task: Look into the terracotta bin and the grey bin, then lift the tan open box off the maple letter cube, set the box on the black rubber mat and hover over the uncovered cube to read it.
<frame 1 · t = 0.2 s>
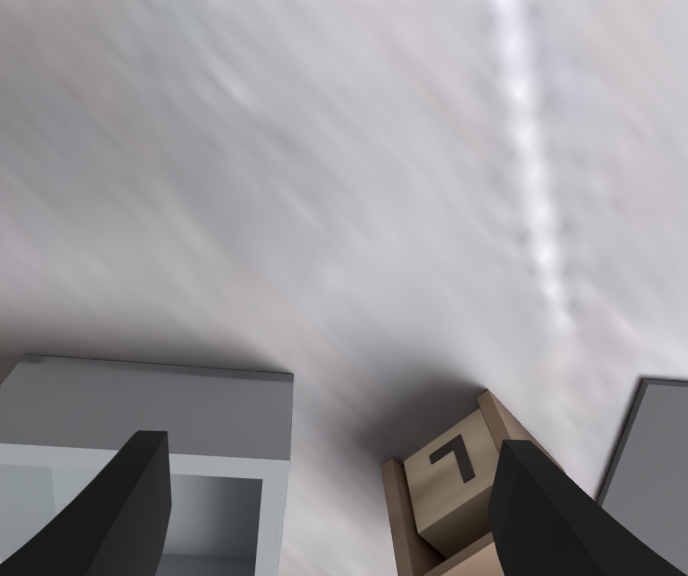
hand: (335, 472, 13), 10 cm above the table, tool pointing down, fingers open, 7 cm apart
tan open box: (473, 467, 26), on the table
grey bin: (162, 467, 26), on the table
letter cube: (468, 461, 26), on the table
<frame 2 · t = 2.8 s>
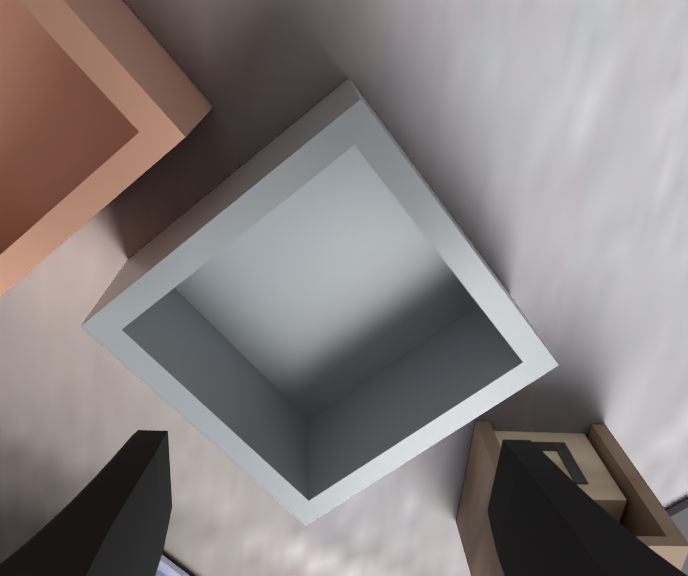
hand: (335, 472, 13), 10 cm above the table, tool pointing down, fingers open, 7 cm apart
tan open box: (528, 475, 27), on the table
grey bin: (324, 278, 23), on the table
letter cube: (528, 468, 27), on the table
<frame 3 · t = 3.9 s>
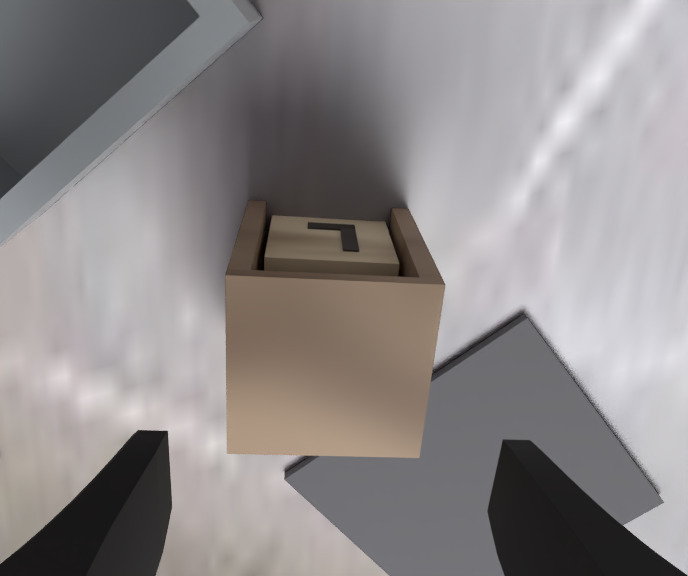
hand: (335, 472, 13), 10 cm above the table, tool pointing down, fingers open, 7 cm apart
tan open box: (324, 278, 23), on the table
rubber mat: (477, 484, 27), on the table
letter cube: (325, 269, 23), on the table
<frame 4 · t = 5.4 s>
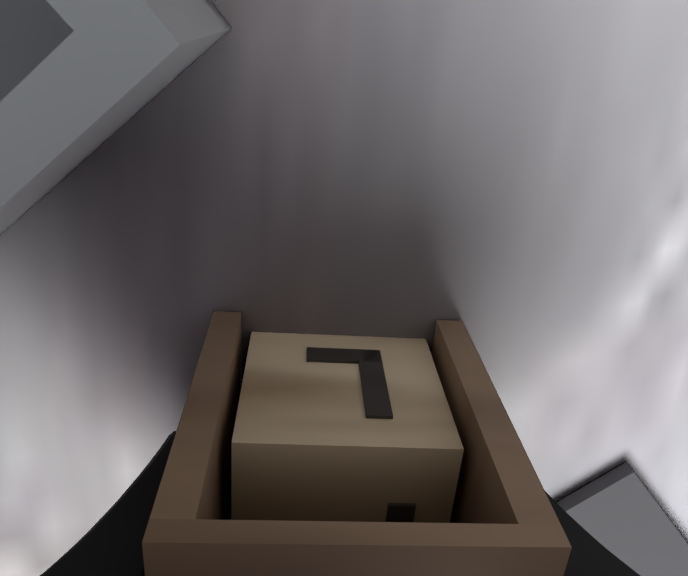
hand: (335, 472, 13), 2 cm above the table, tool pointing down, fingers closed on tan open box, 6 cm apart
tan open box: (332, 418, 15), on the table, touching gripper
letter cube: (333, 405, 15), on the table
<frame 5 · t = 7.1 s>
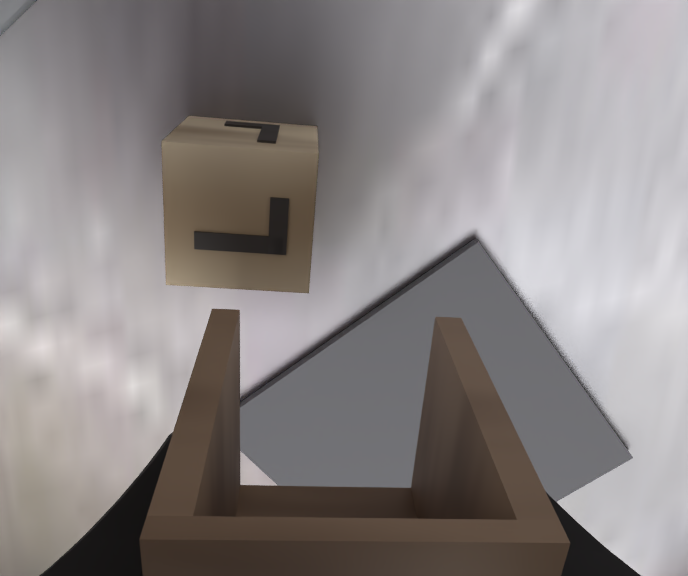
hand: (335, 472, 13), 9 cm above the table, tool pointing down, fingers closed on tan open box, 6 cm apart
tan open box: (331, 416, 15), point 8 cm above the table, touching gripper
rubber mat: (429, 436, 25), on the table
letter cube: (251, 182, 20), on the table
when the fingers open (4 cm above the table, at t = 9.2 s): tan open box drops 1 cm, resting on rubber mat.
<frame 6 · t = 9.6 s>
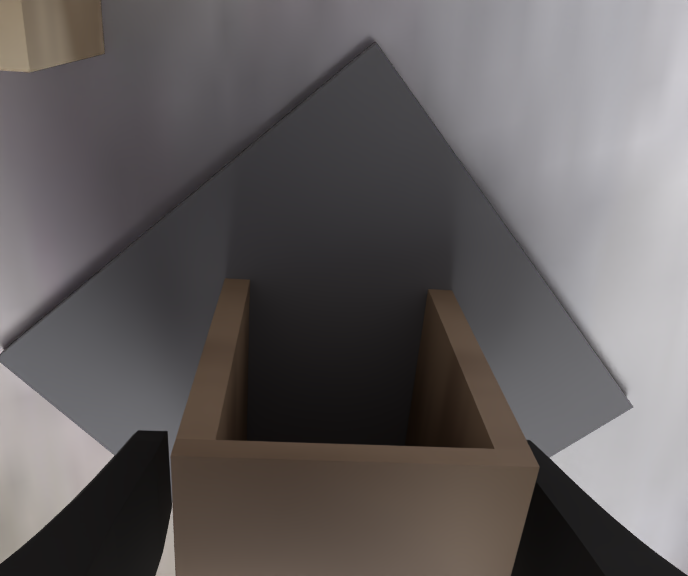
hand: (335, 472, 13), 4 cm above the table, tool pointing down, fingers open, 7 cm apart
tan open box: (331, 380, 16), resting on rubber mat
rubber mat: (330, 375, 17), on the table
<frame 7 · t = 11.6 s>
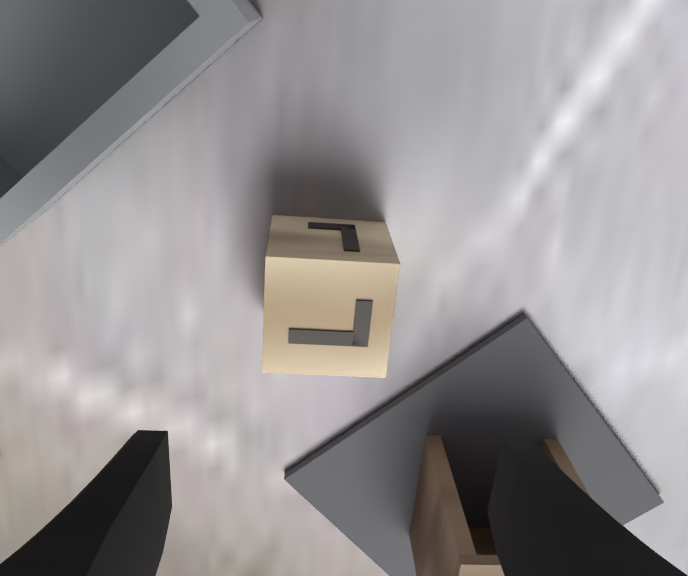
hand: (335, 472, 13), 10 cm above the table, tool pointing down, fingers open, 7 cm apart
tan open box: (480, 489, 27), resting on rubber mat
rubber mat: (477, 484, 27), on the table
letter cube: (325, 269, 23), on the table
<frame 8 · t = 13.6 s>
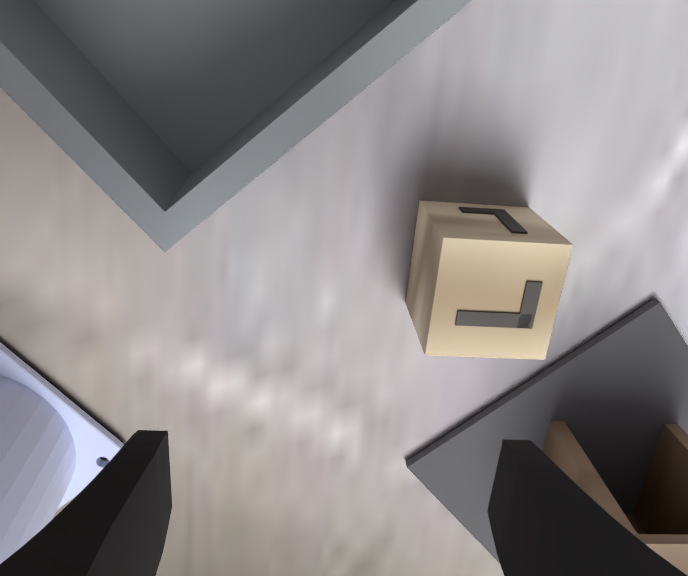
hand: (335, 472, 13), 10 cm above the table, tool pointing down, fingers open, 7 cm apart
tan open box: (598, 475, 27), resting on rubber mat
rubber mat: (593, 471, 27), on the table
letter cube: (464, 255, 23), on the table
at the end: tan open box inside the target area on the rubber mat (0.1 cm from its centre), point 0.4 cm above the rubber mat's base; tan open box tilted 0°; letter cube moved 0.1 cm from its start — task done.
